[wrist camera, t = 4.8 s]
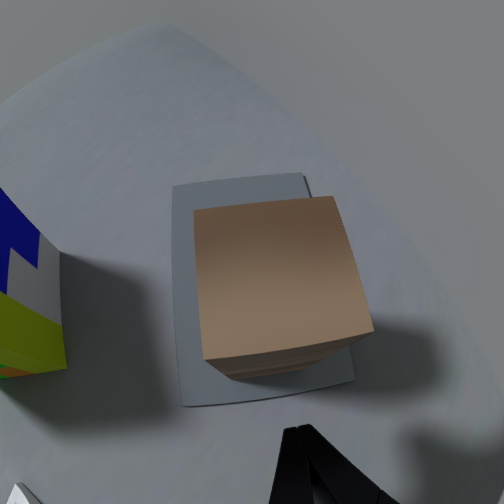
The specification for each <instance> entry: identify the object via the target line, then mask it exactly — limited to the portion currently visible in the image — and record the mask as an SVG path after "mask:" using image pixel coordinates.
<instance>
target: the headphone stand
mask: <svg viewBox="0 0 504 504" xmlns="http://www.w3.org/2000/svg"><path fill="white" fill-rule="evenodd" d="M7 504H41V503H40V502H39V501H38V500H37V499H36V498H35V497H34V496H33V495H32V494H31V493H30V492H29V491H28V489H27V488H26V487H25V486H24V485H23V484H22V483H15V486H14V488H13V490H12V493H11V495H10V497H9V500H8V502H7Z"/></svg>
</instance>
